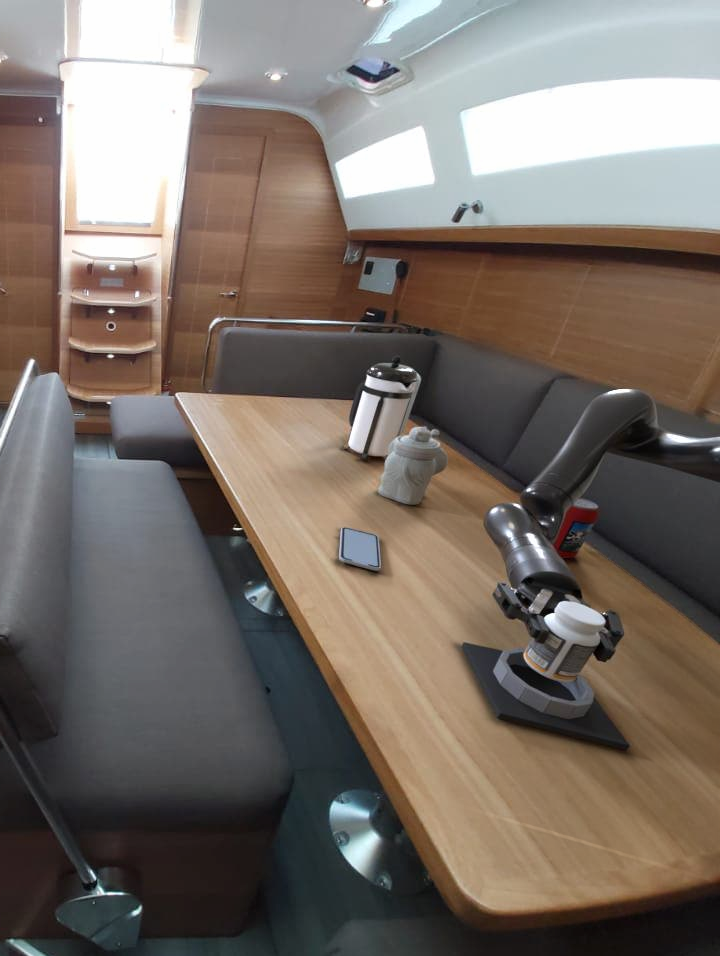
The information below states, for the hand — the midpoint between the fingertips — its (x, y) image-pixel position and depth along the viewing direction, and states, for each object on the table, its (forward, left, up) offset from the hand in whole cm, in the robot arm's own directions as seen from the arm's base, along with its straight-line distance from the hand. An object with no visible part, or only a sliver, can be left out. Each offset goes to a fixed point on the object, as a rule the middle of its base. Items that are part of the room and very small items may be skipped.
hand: (573, 646), depth 64 cm
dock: (-1, -2, -11) cm, 11 cm away
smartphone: (+17, -34, -11) cm, 40 cm away
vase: (-3, -117, -11) cm, 118 cm away
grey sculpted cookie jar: (+1, -69, -11) cm, 70 cm away
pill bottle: (0, -3, -6) cm, 7 cm away
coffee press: (+6, -96, -11) cm, 97 cm away
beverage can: (-23, -49, -11) cm, 55 cm away
